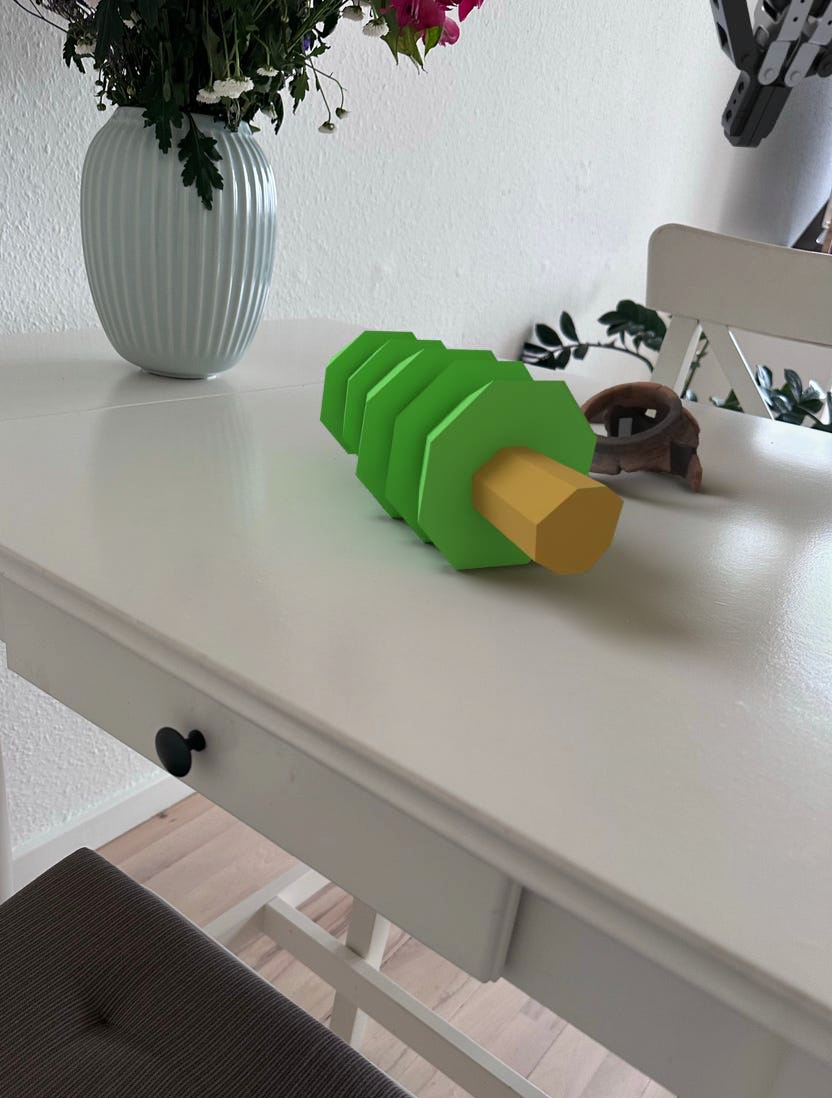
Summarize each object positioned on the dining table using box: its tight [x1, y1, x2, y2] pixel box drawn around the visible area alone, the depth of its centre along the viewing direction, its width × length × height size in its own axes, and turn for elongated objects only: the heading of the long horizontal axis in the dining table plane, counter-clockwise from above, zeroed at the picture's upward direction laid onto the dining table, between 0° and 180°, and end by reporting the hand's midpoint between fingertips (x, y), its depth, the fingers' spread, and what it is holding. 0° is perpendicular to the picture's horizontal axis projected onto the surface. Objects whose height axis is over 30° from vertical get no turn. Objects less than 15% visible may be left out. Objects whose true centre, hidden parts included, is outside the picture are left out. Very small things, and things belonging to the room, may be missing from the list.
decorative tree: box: [319, 330, 625, 576], centre depth 57 cm, size 11×12×30 cm
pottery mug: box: [580, 381, 703, 494], centre depth 70 cm, size 12×10×8 cm
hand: (739, 140), depth 59 cm, fingers closed
